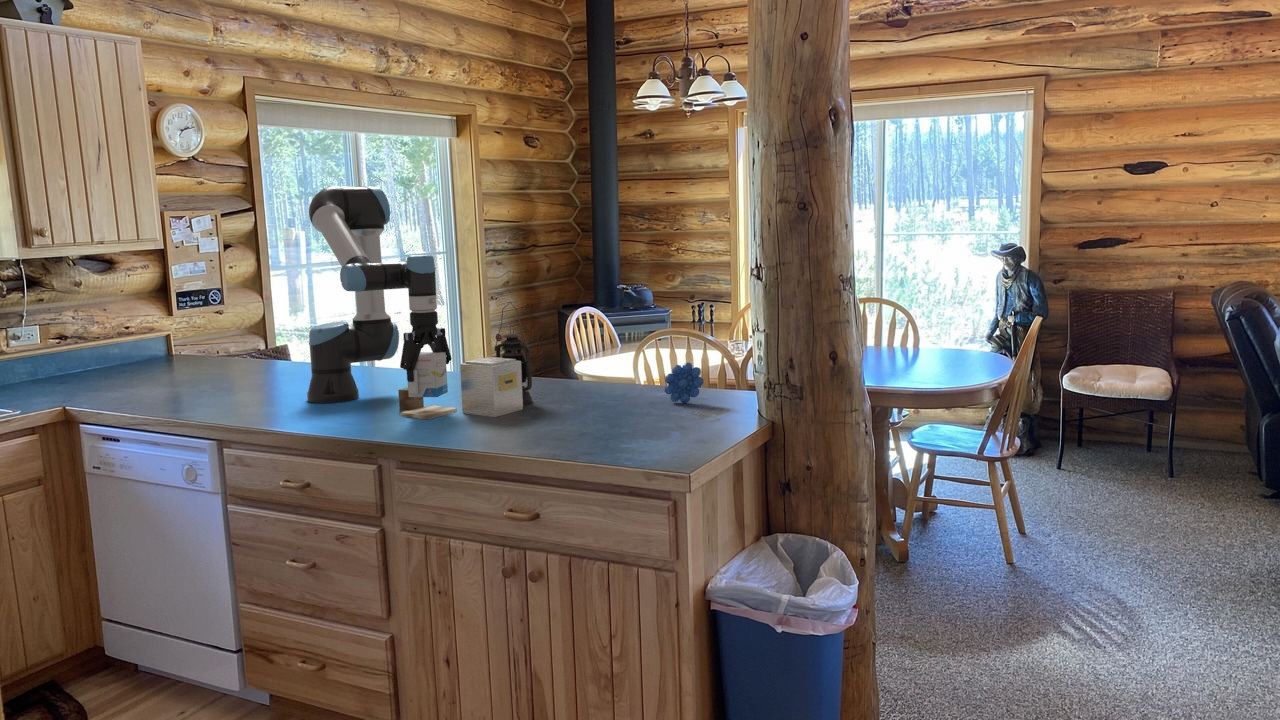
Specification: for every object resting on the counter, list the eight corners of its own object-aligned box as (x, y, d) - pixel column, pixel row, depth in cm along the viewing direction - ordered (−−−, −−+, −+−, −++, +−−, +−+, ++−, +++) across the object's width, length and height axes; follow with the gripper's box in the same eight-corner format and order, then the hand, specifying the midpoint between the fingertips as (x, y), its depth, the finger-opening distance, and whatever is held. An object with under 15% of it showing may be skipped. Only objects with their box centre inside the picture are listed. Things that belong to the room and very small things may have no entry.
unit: (462, 413, 268) (460, 361, 266) (491, 405, 278) (488, 356, 276) (496, 417, 262) (493, 364, 260) (524, 409, 272) (522, 358, 270)
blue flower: (707, 401, 278) (706, 360, 277) (702, 405, 272) (701, 364, 270) (668, 399, 282) (667, 359, 280) (662, 404, 275) (661, 363, 274)
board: (400, 416, 266) (400, 412, 266) (431, 408, 276) (431, 405, 276) (426, 419, 261) (426, 415, 261) (457, 411, 271) (457, 408, 271)
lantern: (541, 400, 285) (538, 300, 280) (523, 407, 275) (518, 303, 271) (506, 398, 290) (502, 299, 286) (486, 404, 280) (482, 302, 276)
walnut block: (399, 410, 275) (398, 389, 274) (408, 407, 280) (407, 386, 279) (414, 411, 273) (413, 390, 273) (423, 407, 278) (422, 387, 277)
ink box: (448, 392, 271) (446, 351, 269) (436, 397, 263) (434, 355, 261) (420, 391, 273) (418, 351, 271) (407, 397, 265) (405, 355, 263)
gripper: (402, 315, 253) (407, 397, 256) (461, 307, 272) (465, 384, 275) (382, 314, 257) (387, 395, 260) (442, 307, 276) (446, 382, 279)
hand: (428, 390), depth 268 cm, fingers closed on ink box, 10 cm apart
